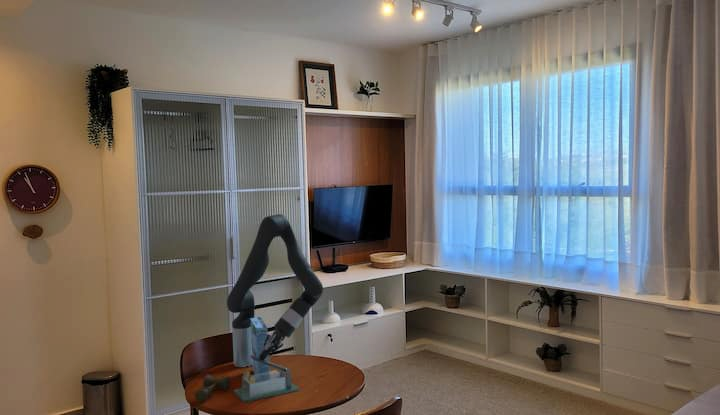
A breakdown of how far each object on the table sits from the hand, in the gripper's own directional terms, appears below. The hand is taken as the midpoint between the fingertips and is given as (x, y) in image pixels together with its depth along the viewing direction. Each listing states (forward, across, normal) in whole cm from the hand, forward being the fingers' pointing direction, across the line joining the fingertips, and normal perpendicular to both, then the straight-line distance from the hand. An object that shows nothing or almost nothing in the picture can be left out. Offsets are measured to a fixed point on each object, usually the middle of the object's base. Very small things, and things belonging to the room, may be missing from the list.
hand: (260, 358), depth 218 cm
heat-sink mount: (+8, 0, +10) cm, 13 cm away
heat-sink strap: (0, 0, +4) cm, 4 cm away
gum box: (+5, -18, +13) cm, 23 cm away
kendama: (+21, -10, -2) cm, 24 cm away
